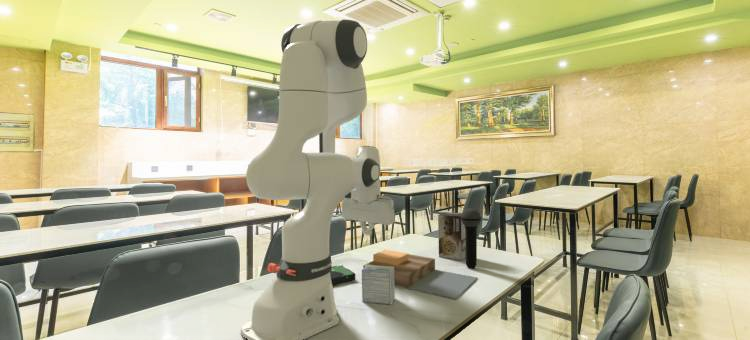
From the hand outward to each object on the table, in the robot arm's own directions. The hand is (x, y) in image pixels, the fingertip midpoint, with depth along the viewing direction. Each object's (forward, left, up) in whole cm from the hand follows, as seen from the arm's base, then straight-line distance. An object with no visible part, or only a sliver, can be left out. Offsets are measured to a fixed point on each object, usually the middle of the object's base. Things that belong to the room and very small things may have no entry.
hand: (367, 234), depth 117 cm
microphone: (+17, -30, -12) cm, 37 cm away
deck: (-1, -13, -11) cm, 17 cm away
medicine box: (-21, -18, -12) cm, 30 cm away
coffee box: (+26, -20, -12) cm, 35 cm away
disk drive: (-17, +4, -12) cm, 21 cm away
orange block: (-1, -10, -7) cm, 12 cm away
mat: (-1, -28, -11) cm, 30 cm away
